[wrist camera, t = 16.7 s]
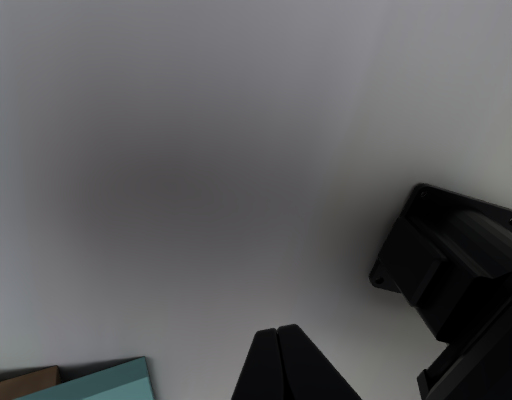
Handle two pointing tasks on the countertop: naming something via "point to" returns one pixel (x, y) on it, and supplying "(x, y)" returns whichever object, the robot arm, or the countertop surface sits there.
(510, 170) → the countertop surface
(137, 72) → the countertop surface
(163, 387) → the countertop surface
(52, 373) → the brown wooden block
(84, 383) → the tile
